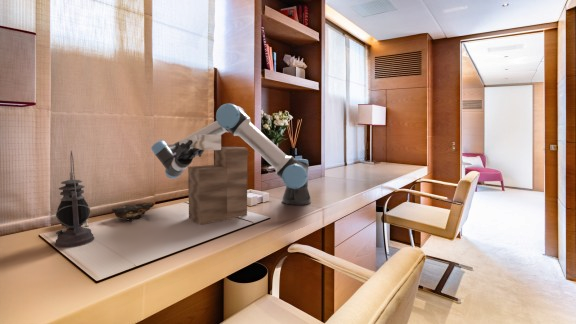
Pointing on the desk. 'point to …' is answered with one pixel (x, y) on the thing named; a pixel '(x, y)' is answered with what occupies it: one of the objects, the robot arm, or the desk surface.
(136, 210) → the fossil rock
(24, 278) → the desk surface
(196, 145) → the pale wooden block
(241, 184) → the stand
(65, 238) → the lantern
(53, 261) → the desk surface
